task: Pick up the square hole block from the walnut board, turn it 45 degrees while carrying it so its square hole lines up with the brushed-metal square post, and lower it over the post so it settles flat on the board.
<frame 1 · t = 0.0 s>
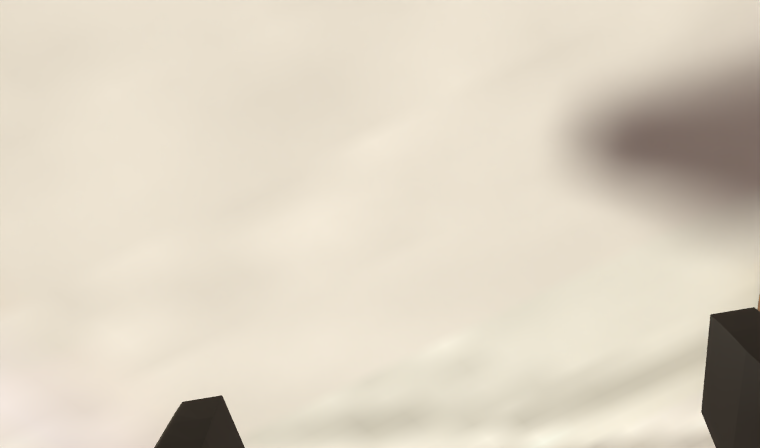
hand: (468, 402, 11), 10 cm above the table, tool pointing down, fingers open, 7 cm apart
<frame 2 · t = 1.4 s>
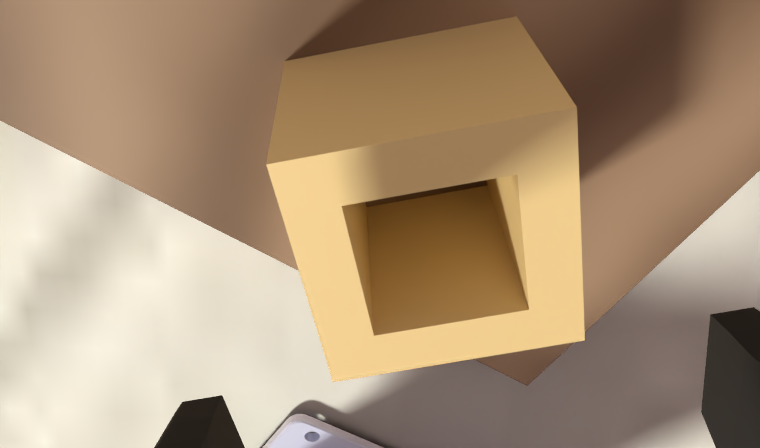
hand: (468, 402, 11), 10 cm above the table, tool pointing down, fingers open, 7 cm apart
square hole block: (417, 142, 18), point 1 cm above the table, touching board
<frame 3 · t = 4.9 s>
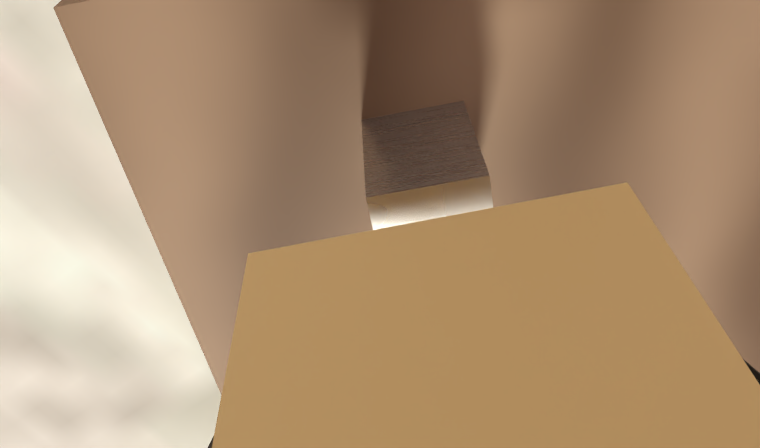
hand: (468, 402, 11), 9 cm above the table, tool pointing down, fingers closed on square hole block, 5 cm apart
square post: (419, 155, 17), resting on board
square hole block: (459, 356, 12), point 8 cm above the table, touching gripper
board: (573, 198, 20), on the table
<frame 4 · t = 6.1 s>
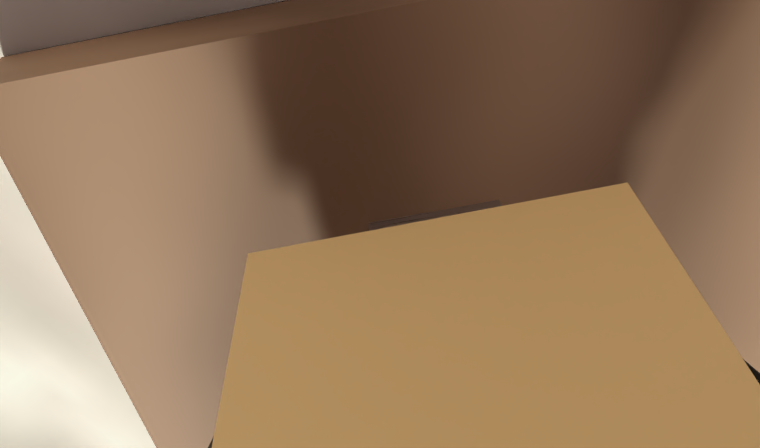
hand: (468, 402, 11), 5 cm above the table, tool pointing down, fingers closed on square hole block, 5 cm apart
square post: (442, 263, 14), resting on board
square hole block: (459, 356, 12), point 4 cm above the table, touching gripper
board: (626, 298, 16), on the table
when the fingers open (3 cm above the table, at t = 7.1 s): square hole block stays where it is, resting on board.
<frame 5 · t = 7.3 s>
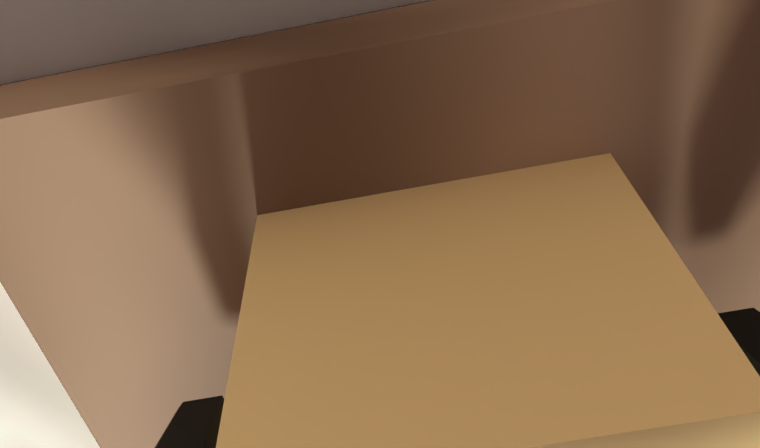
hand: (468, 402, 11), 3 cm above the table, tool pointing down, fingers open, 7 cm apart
square hole block: (452, 318, 12), point 1 cm above the table, touching board
board: (651, 347, 15), on the table
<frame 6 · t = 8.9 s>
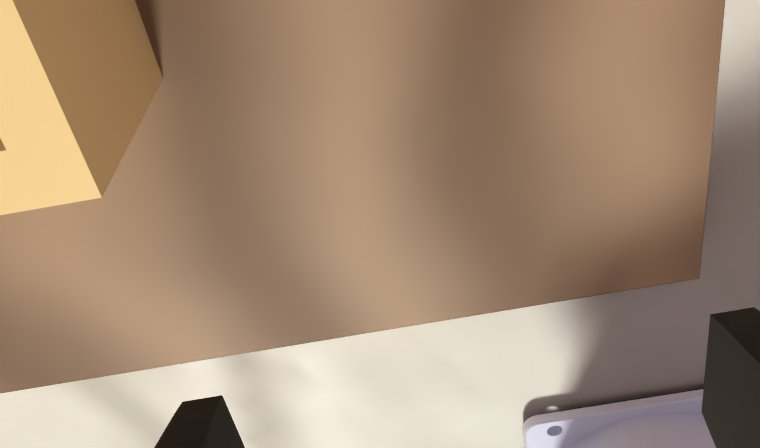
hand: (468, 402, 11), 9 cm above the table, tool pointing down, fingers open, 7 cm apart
board: (233, 56, 17), on the table
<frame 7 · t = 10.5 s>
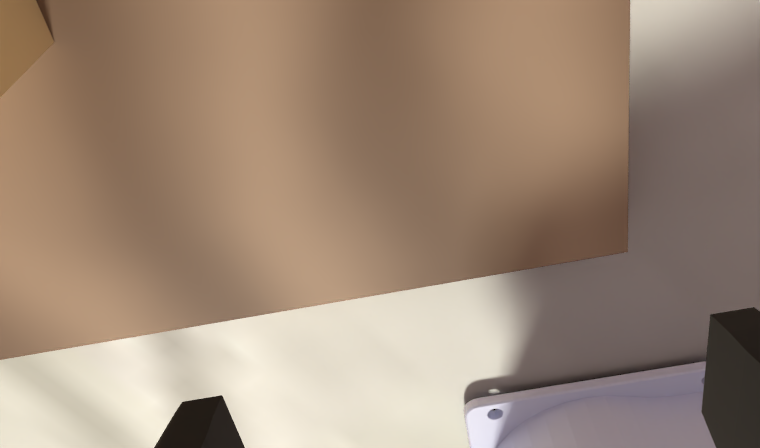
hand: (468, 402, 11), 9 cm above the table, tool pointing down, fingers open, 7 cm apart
board: (134, 22, 17), on the table
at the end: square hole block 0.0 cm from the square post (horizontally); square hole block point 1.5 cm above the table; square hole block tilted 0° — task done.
